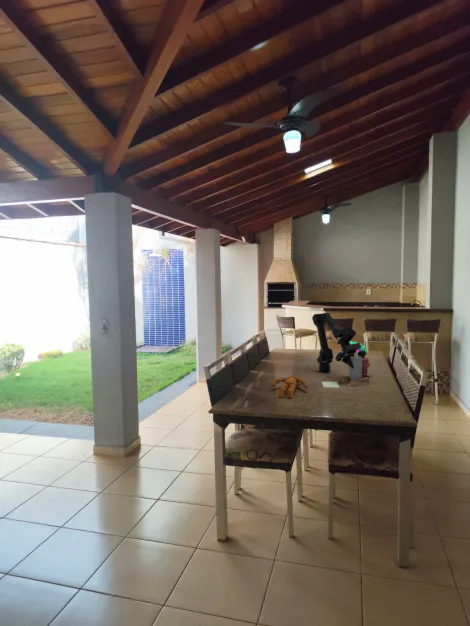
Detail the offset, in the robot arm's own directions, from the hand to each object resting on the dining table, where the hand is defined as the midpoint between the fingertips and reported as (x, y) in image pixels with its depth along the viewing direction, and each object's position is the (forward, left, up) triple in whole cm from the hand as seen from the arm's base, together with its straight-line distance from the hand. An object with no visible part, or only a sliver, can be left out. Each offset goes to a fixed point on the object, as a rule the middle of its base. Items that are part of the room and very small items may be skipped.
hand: (356, 367), depth 242 cm
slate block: (-1, +1, -7) cm, 7 cm away
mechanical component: (-5, +22, -10) cm, 24 cm away
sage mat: (-12, -10, -10) cm, 18 cm away
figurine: (-29, +72, -10) cm, 78 cm away
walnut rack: (-1, +1, -10) cm, 10 cm away
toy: (-26, -33, -10) cm, 43 cm away
